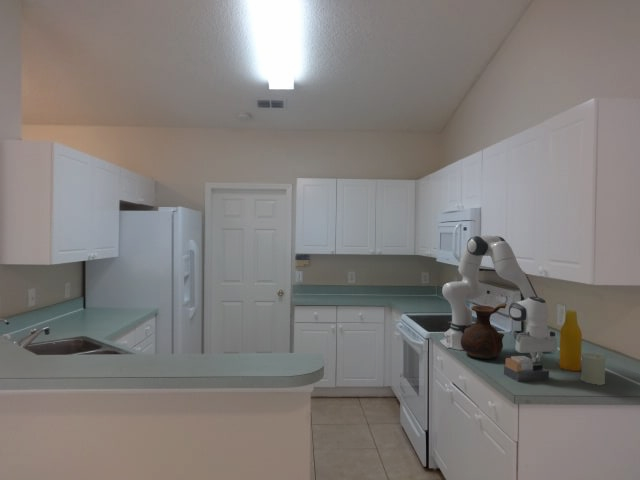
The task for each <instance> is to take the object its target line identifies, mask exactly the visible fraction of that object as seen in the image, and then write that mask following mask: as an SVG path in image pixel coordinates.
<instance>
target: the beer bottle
mask: <svg viewBox="0 0 640 480" xmlns="http://www.w3.org/2000/svg"><path fill="white" fill-rule="evenodd" d="M582 336H583V335H582V330H581V328H580V326H579V324H578V315H577V311H576V310H572V309H571V310H570V309H566V312H565V319H564V323H563V325H562V327H561V328H560V331H559V364H558V365H559V367H560V368H561V369H562V370H565V371H570V372H580V371H582V338H583V337H582Z"/></svg>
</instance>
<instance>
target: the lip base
mask: <svg viewBox="0 0 640 480" xmlns="http://www.w3.org/2000/svg"><path fill="white" fill-rule="evenodd" d="M503 375H505V376H507V377H508V378H510V379H513V380H514V381H516V382H519V383H521V382H536V381H546V380H547V381H549V380H550V371H549V370H547V369H545V368H544V367H543V364H541V363H533V371H521V363H520V362H517V361H515V360H513V359H511V357H506V358H505V365H503Z"/></svg>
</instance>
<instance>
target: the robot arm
mask: <svg viewBox="0 0 640 480" xmlns="http://www.w3.org/2000/svg"><path fill="white" fill-rule="evenodd" d="M489 256H490V258H491V261H492V264H493V268H494V270H495V272H496V274H497V276H499V277H500V278H502V279H503V280H506V281H507V282H508V281H509V282H511V283H513V284H515V285H516V286H517V287H518V288H519V290H520V293H521V295H522V297H523V298H524V299H523V300H519V301H515V302H511V303H510V305H509V307H508V315H509V317H510V318H511V319H512V320H513V321H516V322H525V329H526V332H524V333H522V332H521V333H519V334H520V335H519V334H518V335H517V339H515V346H514V347H515V348H514V349H515V351H516V352H517V353H520V354H530V356H531V359H533V363H535V362H540V361H541V357H542V355H543V353H546V352H557V349H558V338H557V337H558V332H556V331H554V330H551V329H549V328H548V323H547V321H548V317H549V316H548V315H549V314H548V313H549V312H548V310H549V309H548V304H547V301H546V300H545V299H544V298H542V297H539V296H538V295H537V293H536V292H537V291H536V289H534V287H533V285H532V282H531V280H530V279H529V276H528V275H527V273H526V272H525V271H524V270H523V269H522V268H521V267H520V264H519V263H518V261H517V258H516V255H515V253H514V251H513V250H512V247H511V246H510V244H509V243H508V242H507V241H506V240H505V239H504V238H503V237H501V236H499V235H480V236H478V235H476V236H472V237H470V238H469V239H468V240H467V243H466V245H465V247H464V249H463V251H462V254H461V257H460V260H459V265H458V267H457V269H458V271H457V272H458V273H459V274H460V276H462V280H461V281H449V282H447V283H444V285H443V286H442V290H441V292H442V296H443V298H444V299H445V300H447V301H448V303H449V305H450V308H451V322H450V324H449V325H450V328H449V329H447V331H445V332H444V334H443V338H442V339H440V340H439V342H440V343H441V344H442V346H444V347H445V348H447V349H453V350H459V351H465V350H464V349H463V348H462V346H461V337H462V335H463V333H464V332H465V331H466V330H467V329H468V328H469V327H470V326H471V325H473V324H474V323H473V310H472V309H471V307H468V306H467V304H466V301H468V300H469V301H473V300H476V299H480V298H481V297H482V296H483V294H484V287H483V285H482V284H481V283H480V281H479V272H480V267H481V264H482V260H483V257H489Z"/></svg>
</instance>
